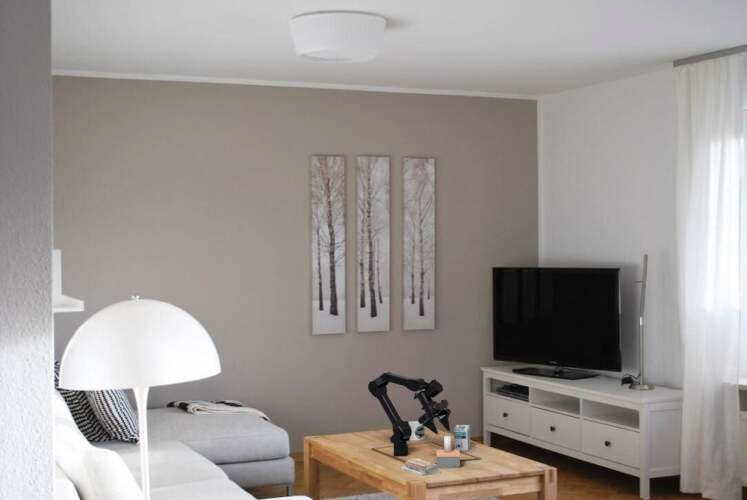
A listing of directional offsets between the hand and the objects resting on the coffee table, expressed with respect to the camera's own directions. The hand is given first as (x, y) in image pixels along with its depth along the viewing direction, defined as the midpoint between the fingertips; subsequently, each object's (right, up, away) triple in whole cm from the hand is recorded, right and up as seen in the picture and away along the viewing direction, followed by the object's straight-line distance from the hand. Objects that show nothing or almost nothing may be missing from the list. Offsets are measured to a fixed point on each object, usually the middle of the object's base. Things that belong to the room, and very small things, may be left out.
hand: (443, 432), depth 453 cm
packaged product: (-11, -14, -17) cm, 25 cm away
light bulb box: (+11, -13, +27) cm, 32 cm away
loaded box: (+2, -13, -9) cm, 16 cm away
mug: (-12, -14, +53) cm, 56 cm away
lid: (+1, -9, -9) cm, 13 cm away
